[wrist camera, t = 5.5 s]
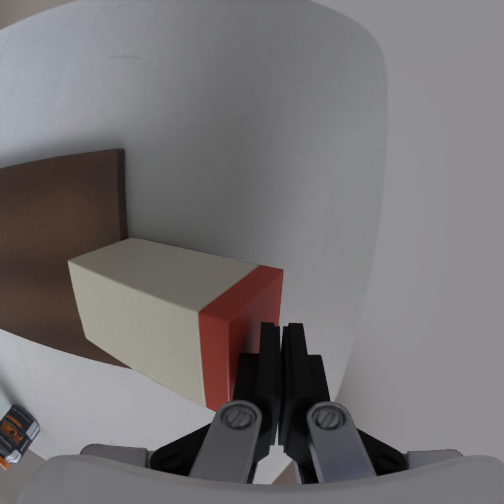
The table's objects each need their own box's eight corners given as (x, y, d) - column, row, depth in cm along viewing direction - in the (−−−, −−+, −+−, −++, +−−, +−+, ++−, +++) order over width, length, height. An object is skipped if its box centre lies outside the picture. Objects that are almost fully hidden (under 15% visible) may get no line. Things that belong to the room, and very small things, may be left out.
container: (132, 236, 17) (67, 259, 13) (284, 269, 13) (228, 321, 9) (140, 306, 19) (85, 338, 14) (276, 354, 15) (230, 418, 10)
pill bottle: (37, 418, 28) (4, 467, 17) (43, 434, 29) (15, 479, 19) (10, 397, 27) (-24, 441, 16) (17, 416, 29) (-12, 457, 18)
